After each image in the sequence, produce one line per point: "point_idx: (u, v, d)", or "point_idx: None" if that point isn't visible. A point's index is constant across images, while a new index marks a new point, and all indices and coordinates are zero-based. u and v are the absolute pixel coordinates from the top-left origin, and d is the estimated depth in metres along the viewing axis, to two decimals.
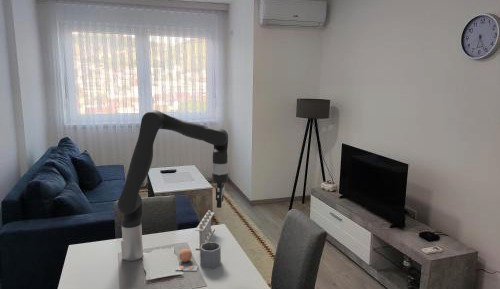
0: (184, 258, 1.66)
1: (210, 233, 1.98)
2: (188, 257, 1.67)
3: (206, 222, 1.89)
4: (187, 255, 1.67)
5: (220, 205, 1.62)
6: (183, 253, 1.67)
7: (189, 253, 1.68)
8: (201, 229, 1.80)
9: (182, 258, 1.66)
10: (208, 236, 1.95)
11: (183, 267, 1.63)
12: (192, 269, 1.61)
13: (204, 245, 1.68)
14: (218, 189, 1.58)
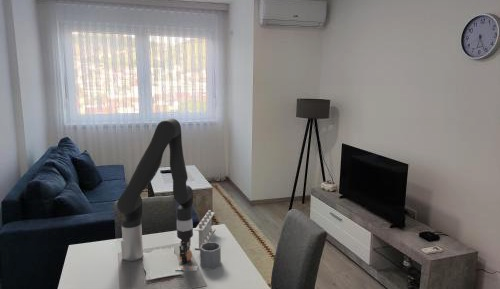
0: None
1: (210, 233, 1.99)
2: (188, 257, 1.67)
3: (206, 222, 1.89)
4: (187, 255, 1.67)
5: (185, 261, 1.66)
6: (183, 253, 1.67)
7: (189, 253, 1.68)
8: (200, 229, 1.80)
9: None
10: (208, 236, 1.95)
11: (183, 267, 1.63)
12: (192, 269, 1.61)
13: (204, 245, 1.68)
14: (182, 247, 1.61)
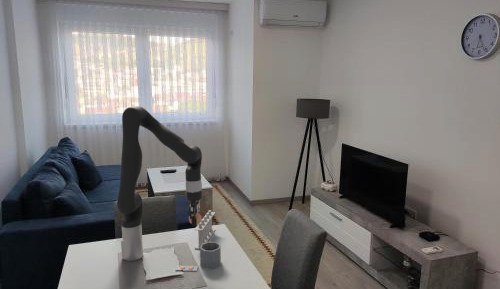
0: None
1: (210, 233, 1.99)
2: (198, 220, 1.62)
3: (206, 222, 1.89)
4: (197, 218, 1.62)
5: (195, 223, 1.61)
6: (193, 215, 1.62)
7: (199, 216, 1.63)
8: (200, 229, 1.80)
9: None
10: (208, 236, 1.95)
11: (183, 267, 1.63)
12: (192, 269, 1.61)
13: (204, 245, 1.68)
14: (191, 209, 1.57)
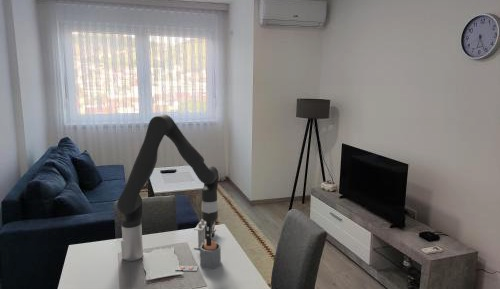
0: (210, 248, 1.63)
1: None
2: (213, 248, 1.63)
3: None
4: (212, 245, 1.63)
5: (210, 243, 1.60)
6: None
7: (214, 244, 1.64)
8: (200, 229, 1.80)
9: (207, 249, 1.63)
10: None
11: (183, 267, 1.63)
12: (192, 269, 1.61)
13: None
14: (207, 228, 1.57)
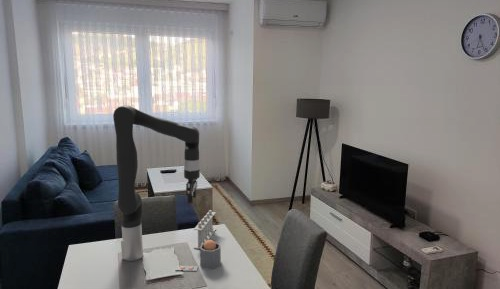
0: (208, 242, 1.65)
1: (211, 233, 1.99)
2: (212, 242, 1.65)
3: (206, 222, 1.89)
4: (211, 240, 1.66)
5: (191, 200, 1.67)
6: None
7: (212, 240, 1.67)
8: (199, 228, 1.80)
9: (206, 244, 1.65)
10: (208, 236, 1.95)
11: (183, 267, 1.63)
12: (192, 269, 1.61)
13: None
14: (188, 185, 1.63)
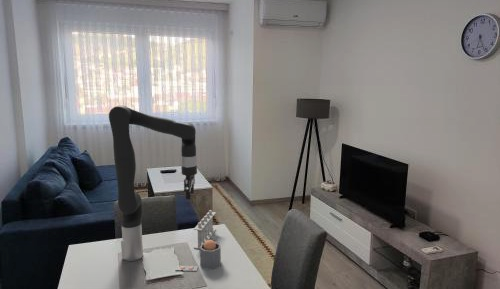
0: (208, 242, 1.65)
1: (211, 233, 1.99)
2: (212, 242, 1.65)
3: (206, 222, 1.89)
4: (211, 240, 1.66)
5: (189, 197, 1.68)
6: None
7: (212, 240, 1.67)
8: (199, 228, 1.81)
9: (206, 244, 1.65)
10: (208, 236, 1.95)
11: (183, 267, 1.63)
12: (192, 269, 1.61)
13: None
14: (186, 181, 1.64)
